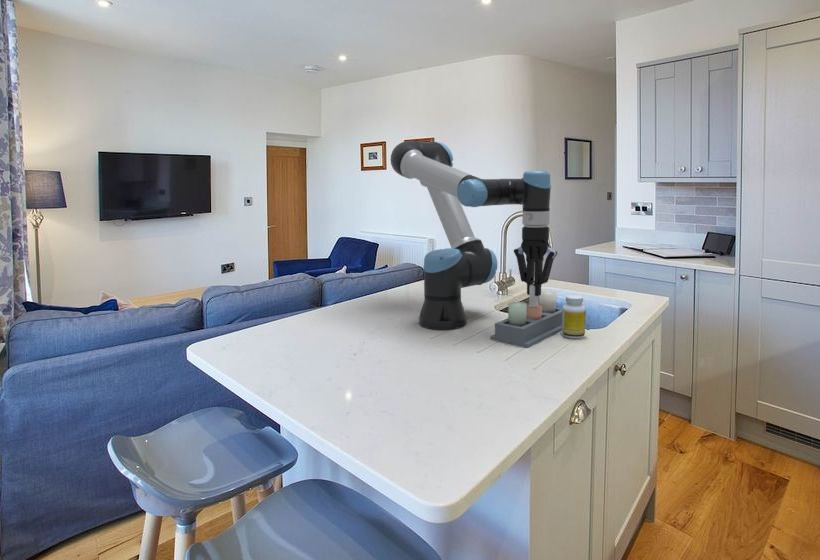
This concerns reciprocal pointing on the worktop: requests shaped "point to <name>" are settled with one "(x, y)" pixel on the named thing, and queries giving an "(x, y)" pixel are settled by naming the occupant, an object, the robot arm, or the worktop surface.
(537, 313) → the pink cylinder
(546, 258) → the robot arm
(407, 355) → the worktop surface
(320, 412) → the worktop surface
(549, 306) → the button cream
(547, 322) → the button panel
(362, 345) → the worktop surface
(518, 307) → the button sage
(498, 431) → the worktop surface
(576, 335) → the pill bottle
